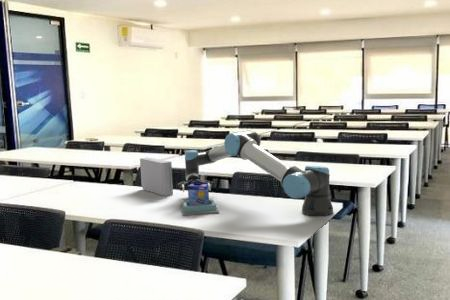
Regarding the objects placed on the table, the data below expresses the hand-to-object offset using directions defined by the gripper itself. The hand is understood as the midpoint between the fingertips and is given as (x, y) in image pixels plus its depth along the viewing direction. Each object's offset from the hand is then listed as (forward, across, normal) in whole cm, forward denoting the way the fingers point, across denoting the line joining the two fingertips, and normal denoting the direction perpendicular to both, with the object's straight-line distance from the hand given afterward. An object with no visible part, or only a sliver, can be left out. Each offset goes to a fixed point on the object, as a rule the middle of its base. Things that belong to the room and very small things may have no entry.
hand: (196, 188), depth 256 cm
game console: (-49, +21, -12) cm, 54 cm away
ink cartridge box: (0, -1, -10) cm, 10 cm away
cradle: (0, -1, -11) cm, 11 cm away
